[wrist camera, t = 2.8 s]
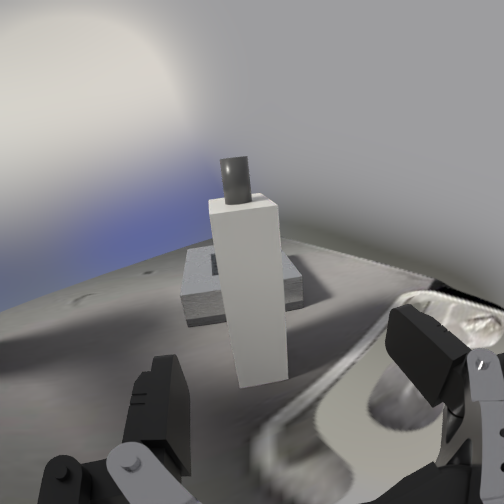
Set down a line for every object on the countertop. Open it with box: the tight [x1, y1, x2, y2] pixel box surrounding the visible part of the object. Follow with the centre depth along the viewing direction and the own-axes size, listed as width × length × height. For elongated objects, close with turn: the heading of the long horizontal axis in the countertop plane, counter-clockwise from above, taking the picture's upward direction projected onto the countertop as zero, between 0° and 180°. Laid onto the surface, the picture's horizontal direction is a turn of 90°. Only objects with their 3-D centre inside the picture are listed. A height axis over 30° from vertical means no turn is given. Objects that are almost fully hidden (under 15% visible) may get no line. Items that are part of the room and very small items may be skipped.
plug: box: [209, 156, 288, 388], centre depth 21 cm, size 4×6×17 cm
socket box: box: [180, 245, 303, 327], centre depth 37 cm, size 13×15×5 cm
